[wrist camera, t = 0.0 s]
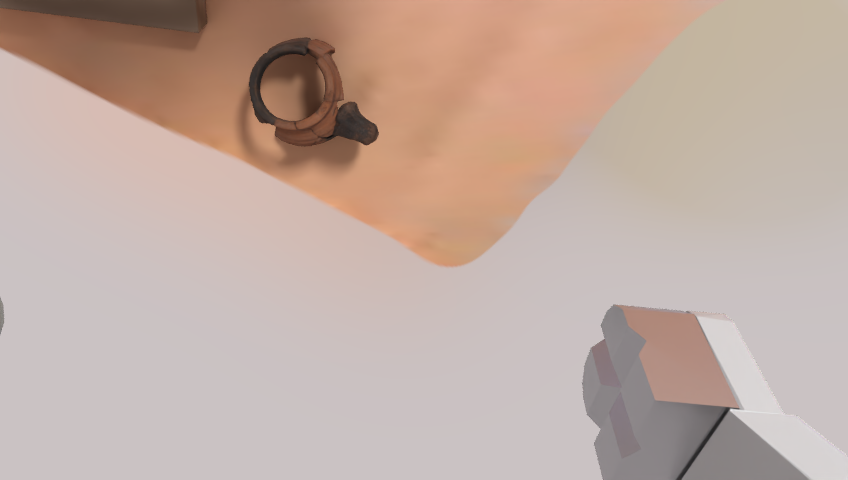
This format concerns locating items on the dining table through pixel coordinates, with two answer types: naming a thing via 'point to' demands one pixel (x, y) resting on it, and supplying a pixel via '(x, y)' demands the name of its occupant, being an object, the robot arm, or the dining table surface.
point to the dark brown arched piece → (327, 117)
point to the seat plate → (124, 11)
